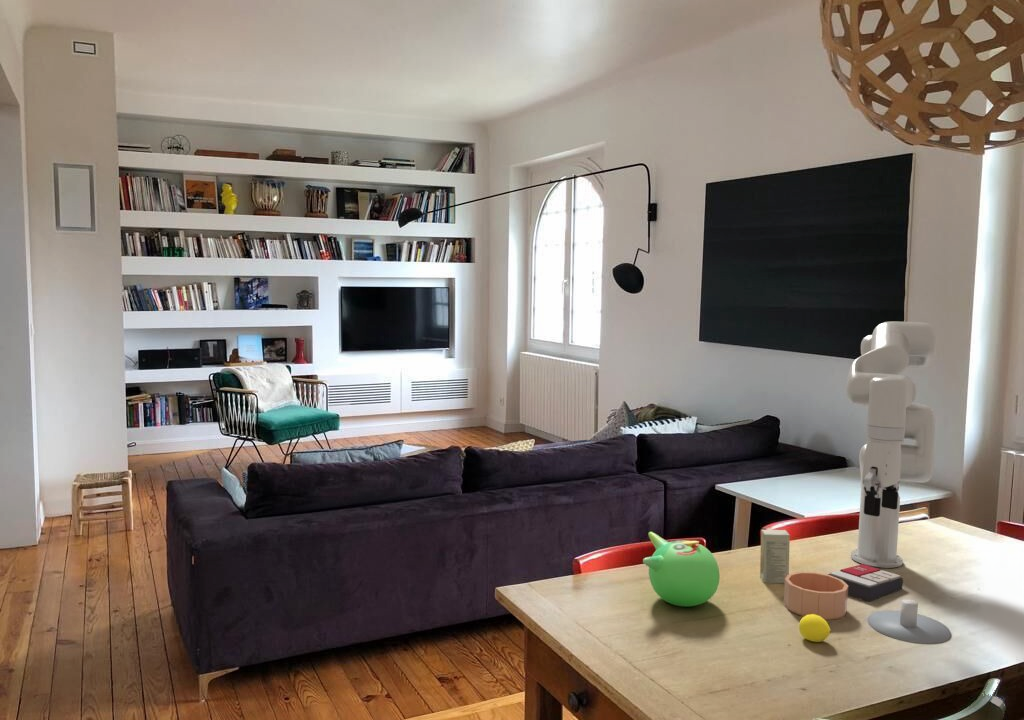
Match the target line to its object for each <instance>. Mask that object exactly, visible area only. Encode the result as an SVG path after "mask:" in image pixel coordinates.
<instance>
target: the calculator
mask: <svg viewBox="0 0 1024 720" xmlns="http://www.w3.org/2000/svg"><path fill="white" fill-rule="evenodd" d="M827 575H831V576H833V577H836V578H839V579H841V580H843V581H844V582H845V583H846V584H847V585H848V597H853V598H854V599H859V600H861V601H864V602H867V603H870V602H873V601H875V600H878V599H879V598H881V597H884V596H887V595H890V594H893V593H895V592H898V591H900V590H903V583H904V582H903V581H904V578H903V577H901V575H900V574H897V573H894V572H890V571H886V570H883V569H881V570H880V569H879V568H878V567H873V566H869V565H865V564H861V563H860V564H858V565H854V566H850V567H845V568H842V569H840V570H837V571H832V572H830V573H828V574H827Z"/></svg>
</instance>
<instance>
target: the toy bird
mask: <svg viewBox="0 0 1024 720" xmlns="http://www.w3.org/2000/svg"><path fill="white" fill-rule="evenodd" d="M648 538H649V540H650V542H651V543H652V546H653V547H654V548H655V551H654V552H653V554H652V555H651V556H647V557H644V558H643V559H642V563H643V564H644V565H646V567H648V578H649V581H650V584H651V587H652V588H653V591H654V592H655V593H656V595H657V596H658V597H660V598H661V599H662V600H663V601H665V602H666V603H669V604H670V605H674V606H678V607H685V608H686V607H688V608H689V607H694V606H698V605H702V604H704V603H706V602H708V601H709V600H710V599H711V598H713V596H714V594H715V593H716V592H717V590H718V587H719V584H720V578H721V577H720V576H721V575H720V569H719V565H718V562H717V560H716V557H715V556H714V555H713V553H712V552H711V551H710V550H709V549H708V548H707V547H706V546H704V545H702V544H699V543H700V541H699V540H683V539H682V540H681V539H677V540H673V541H667V540H666V539H664V538H662V537H661V535H660V536H659V534H657V533H655V532H653V531H649V532H648Z"/></svg>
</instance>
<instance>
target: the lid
mask: <svg viewBox="0 0 1024 720" xmlns="http://www.w3.org/2000/svg"><path fill="white" fill-rule="evenodd" d="M918 608H919V603H918V602H917V601H915V600H912V599H902V600H901V603H900V610H895V609H894V610H891V609H890V610H877V611H875V612H872V613H870V614H868V616H867V619H866V621H867V623H868V626H869V627H871V628H872V629H873V630H874V631H877V632H878V633H880V634H882V635H884V636H887V637H889V638H893V639H896V640H899V641H904V642H910V643H917V644H939V643H943V642H946V641H948V640H949V639H950V637H951V631H950V628H949V627H948V626H946V625H945V624H944V623H942V622H940V621H939V620H936V619H934V618H932V617H928V616H926V615H922V614H918V611H919V609H918Z"/></svg>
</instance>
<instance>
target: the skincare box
mask: <svg viewBox="0 0 1024 720" xmlns="http://www.w3.org/2000/svg"><path fill="white" fill-rule="evenodd" d="M760 535H761V536H760V563H759V564H760V565H759V567H760V569H759V574H760V575H759V577H760V579H761V581H762V583H767V584H768V583H770V584H772V583H773V584H774V583H775V584H785V578H786V576H787V575H788V574H790V542H791V541H790V540H791V539H790V537H791V536H790V534H789V532H788V531H787V530H786V529H760Z"/></svg>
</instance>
